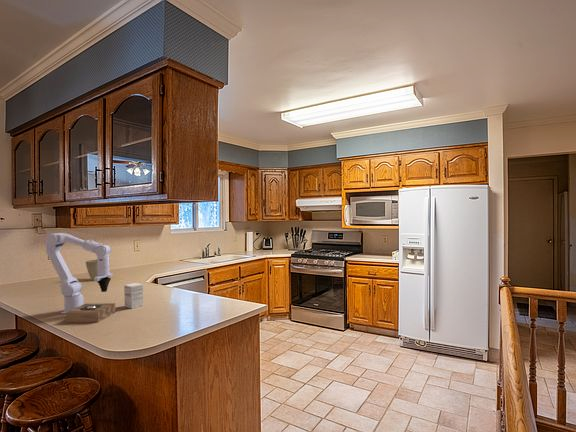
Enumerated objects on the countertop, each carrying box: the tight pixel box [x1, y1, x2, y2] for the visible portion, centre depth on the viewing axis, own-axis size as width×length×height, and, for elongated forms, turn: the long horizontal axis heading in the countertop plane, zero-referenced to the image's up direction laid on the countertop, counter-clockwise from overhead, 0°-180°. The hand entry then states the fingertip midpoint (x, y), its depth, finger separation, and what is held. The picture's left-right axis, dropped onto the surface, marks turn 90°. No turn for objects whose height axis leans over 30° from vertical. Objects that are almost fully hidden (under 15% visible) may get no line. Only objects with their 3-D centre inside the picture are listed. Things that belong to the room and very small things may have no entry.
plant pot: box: [85, 258, 98, 282], centre depth 269 cm, size 15×15×16 cm
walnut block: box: [65, 302, 116, 324], centre depth 170 cm, size 16×16×6 cm
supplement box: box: [124, 282, 144, 310], centre depth 189 cm, size 7×7×13 cm
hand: (104, 291), depth 182 cm, fingers closed
